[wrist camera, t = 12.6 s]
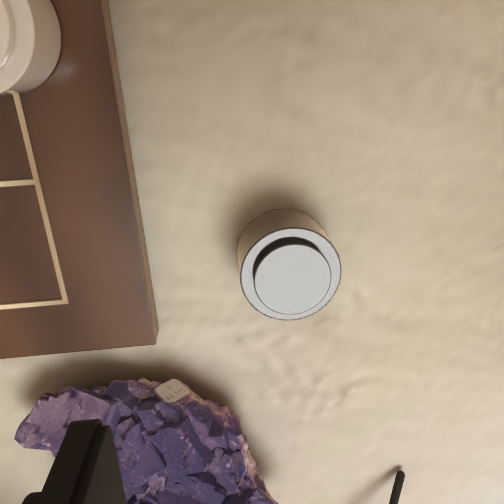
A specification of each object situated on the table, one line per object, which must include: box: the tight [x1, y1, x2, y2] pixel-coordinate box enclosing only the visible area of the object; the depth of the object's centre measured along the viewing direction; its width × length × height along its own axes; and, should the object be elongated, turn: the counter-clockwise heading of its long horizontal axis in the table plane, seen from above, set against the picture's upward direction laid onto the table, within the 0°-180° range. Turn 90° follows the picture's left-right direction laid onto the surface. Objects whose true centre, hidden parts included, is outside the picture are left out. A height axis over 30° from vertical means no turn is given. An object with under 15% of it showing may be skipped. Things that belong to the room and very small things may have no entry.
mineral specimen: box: [14, 378, 278, 504], centre depth 26 cm, size 11×14×4 cm
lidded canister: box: [237, 209, 341, 320], centre depth 22 cm, size 5×5×4 cm
